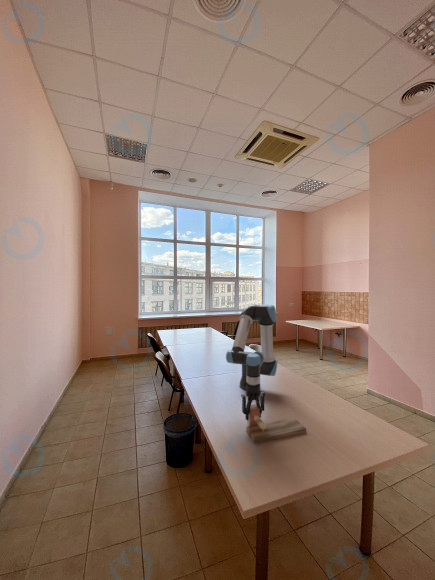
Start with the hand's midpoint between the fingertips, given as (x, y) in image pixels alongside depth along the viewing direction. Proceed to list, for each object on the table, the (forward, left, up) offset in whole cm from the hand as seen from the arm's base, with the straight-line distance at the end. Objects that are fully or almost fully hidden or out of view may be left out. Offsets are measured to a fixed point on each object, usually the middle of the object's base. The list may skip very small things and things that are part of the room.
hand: (253, 424), depth 128 cm
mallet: (+5, 0, 0) cm, 5 cm away
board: (+8, +9, -1) cm, 12 cm away
